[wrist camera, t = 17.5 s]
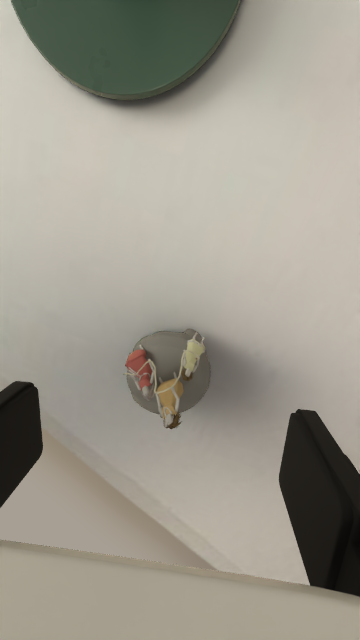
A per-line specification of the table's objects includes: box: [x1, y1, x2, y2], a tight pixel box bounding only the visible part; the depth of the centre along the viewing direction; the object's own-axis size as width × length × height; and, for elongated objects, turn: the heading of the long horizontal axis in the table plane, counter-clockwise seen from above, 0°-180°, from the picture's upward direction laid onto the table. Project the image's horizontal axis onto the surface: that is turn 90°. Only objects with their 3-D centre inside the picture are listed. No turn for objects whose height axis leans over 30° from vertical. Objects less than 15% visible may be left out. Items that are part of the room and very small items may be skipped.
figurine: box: [123, 329, 211, 429], centre depth 14 cm, size 5×4×6 cm
